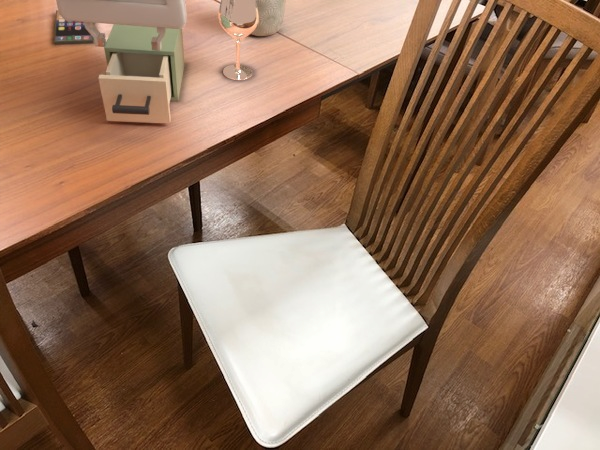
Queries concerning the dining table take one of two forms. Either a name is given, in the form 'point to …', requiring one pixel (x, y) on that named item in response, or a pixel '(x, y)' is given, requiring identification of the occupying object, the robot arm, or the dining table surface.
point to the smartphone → (70, 32)
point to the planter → (269, 17)
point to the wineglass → (238, 30)
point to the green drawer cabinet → (149, 48)
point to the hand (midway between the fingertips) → (129, 47)
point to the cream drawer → (137, 88)
